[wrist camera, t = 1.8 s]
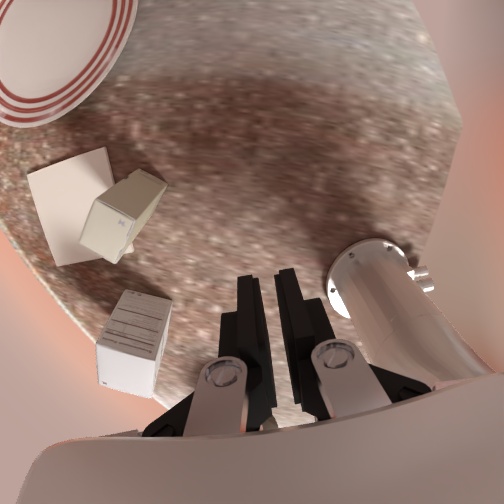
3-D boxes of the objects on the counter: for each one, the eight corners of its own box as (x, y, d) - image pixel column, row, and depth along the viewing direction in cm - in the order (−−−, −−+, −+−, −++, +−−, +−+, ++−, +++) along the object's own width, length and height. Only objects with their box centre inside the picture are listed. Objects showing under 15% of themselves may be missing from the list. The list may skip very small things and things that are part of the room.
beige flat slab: (105, 146, 34) (104, 146, 34) (134, 250, 40) (133, 252, 40) (29, 173, 35) (26, 174, 34) (58, 264, 41) (57, 266, 40)
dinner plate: (38, 166, 35) (25, 171, 32) (-36, 55, 25) (-50, 54, 22) (191, 16, 29) (186, 7, 26) (84, -79, 19) (75, -88, 16)
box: (138, 166, 36) (94, 193, 24) (169, 183, 37) (137, 218, 25) (121, 203, 37) (75, 243, 26) (150, 220, 39) (115, 267, 27)
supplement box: (168, 338, 46) (152, 401, 35) (122, 326, 45) (95, 385, 34) (175, 299, 43) (156, 362, 32) (125, 286, 42) (93, 344, 31)
